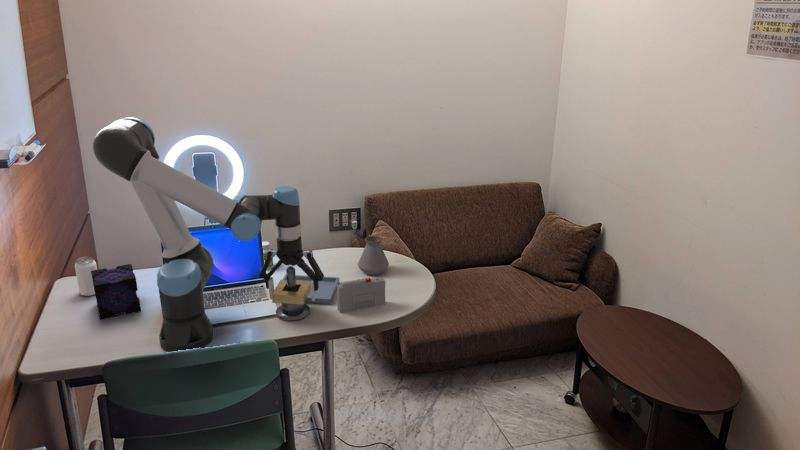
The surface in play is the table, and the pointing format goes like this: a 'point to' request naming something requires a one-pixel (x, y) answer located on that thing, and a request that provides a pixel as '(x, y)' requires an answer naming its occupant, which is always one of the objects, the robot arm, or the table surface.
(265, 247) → the supplement bottle
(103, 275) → the energy cube
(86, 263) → the can
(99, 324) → the table surface
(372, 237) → the coffee pot
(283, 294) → the ring
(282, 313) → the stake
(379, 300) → the cassette player
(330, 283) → the tray
